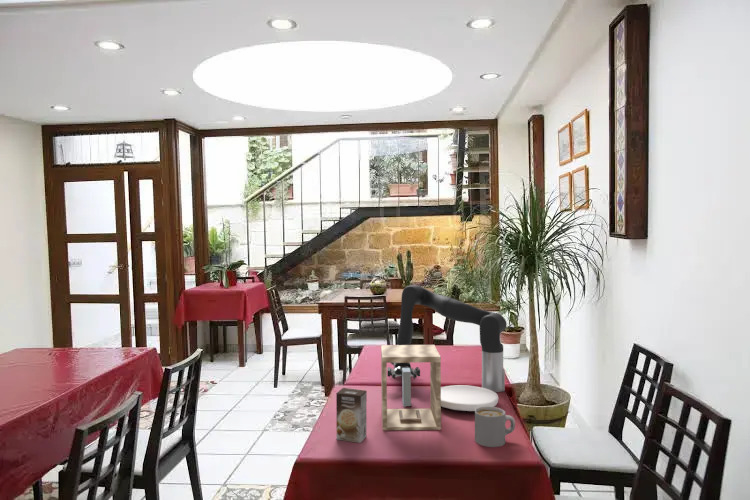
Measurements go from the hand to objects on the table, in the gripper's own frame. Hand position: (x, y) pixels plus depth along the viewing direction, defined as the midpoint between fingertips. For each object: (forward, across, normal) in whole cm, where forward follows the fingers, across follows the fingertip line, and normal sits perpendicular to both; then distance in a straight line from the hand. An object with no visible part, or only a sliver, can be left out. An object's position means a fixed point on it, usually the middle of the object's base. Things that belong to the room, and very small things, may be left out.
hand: (404, 376), depth 225 cm
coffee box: (+45, -21, +8) cm, 50 cm away
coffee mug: (+49, +27, +8) cm, 57 cm away
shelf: (+29, 0, +8) cm, 30 cm away
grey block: (+11, 0, +8) cm, 14 cm away
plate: (+12, +24, +8) cm, 28 cm away
